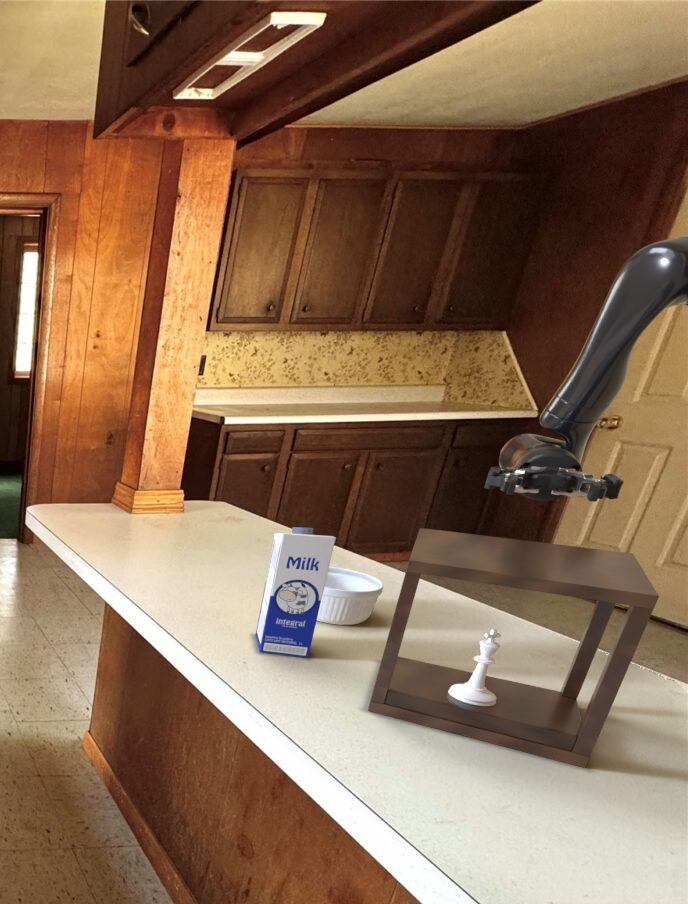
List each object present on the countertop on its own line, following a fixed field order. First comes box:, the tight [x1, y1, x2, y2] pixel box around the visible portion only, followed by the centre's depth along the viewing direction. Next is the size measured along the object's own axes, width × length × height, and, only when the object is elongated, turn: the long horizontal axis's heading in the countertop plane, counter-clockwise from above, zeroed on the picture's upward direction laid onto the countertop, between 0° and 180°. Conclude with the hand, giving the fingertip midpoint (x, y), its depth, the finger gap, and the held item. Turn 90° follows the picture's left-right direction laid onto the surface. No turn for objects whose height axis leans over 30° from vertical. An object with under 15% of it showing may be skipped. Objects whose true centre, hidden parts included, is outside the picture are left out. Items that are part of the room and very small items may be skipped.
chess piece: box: [448, 628, 502, 706], centre depth 87 cm, size 5×5×10 cm
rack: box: [367, 527, 660, 768], centre depth 85 cm, size 21×18×22 cm
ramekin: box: [316, 566, 384, 626], centre depth 119 cm, size 13×13×7 cm
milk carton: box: [255, 526, 337, 659], centre depth 104 cm, size 7×7×20 cm
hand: (553, 490), depth 93 cm, fingers open, 8 cm apart
